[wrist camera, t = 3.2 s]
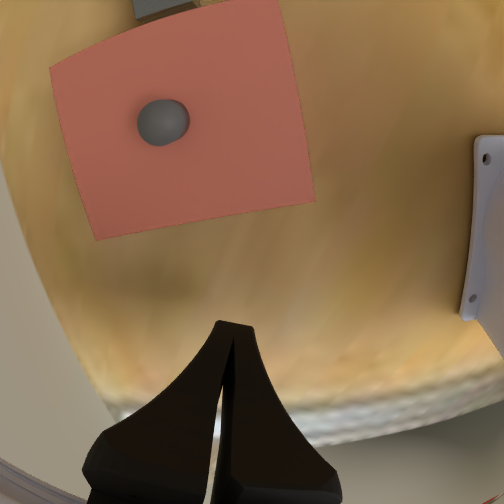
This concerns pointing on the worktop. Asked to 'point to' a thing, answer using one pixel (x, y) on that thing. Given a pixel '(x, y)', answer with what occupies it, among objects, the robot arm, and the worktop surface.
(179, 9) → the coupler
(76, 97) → the lock
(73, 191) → the worktop surface
